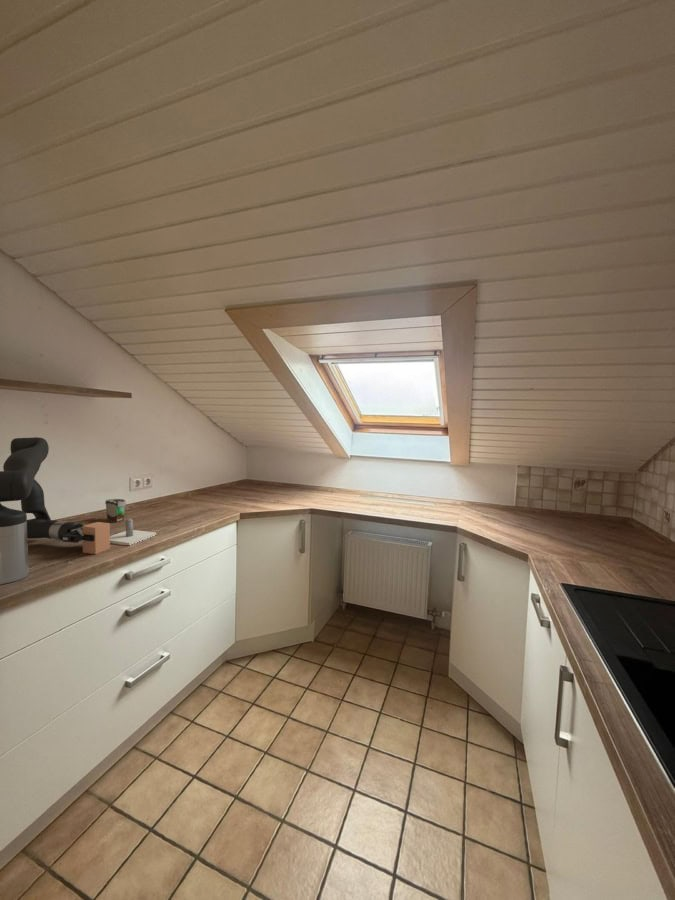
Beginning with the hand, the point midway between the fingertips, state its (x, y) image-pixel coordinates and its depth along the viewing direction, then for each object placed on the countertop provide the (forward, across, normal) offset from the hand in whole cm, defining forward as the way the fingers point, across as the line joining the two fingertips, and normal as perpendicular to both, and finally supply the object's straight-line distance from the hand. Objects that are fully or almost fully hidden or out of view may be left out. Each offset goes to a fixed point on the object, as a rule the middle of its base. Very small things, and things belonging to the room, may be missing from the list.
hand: (101, 535), depth 128 cm
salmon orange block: (-2, 0, +6) cm, 6 cm away
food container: (-30, +36, +6) cm, 48 cm away
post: (-2, +15, +6) cm, 16 cm away
